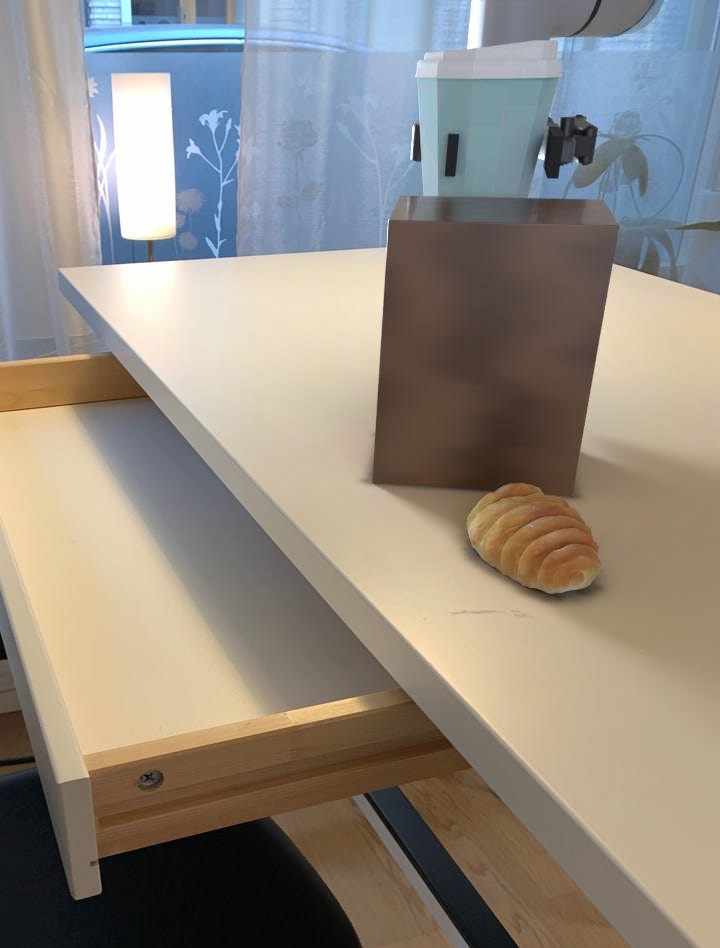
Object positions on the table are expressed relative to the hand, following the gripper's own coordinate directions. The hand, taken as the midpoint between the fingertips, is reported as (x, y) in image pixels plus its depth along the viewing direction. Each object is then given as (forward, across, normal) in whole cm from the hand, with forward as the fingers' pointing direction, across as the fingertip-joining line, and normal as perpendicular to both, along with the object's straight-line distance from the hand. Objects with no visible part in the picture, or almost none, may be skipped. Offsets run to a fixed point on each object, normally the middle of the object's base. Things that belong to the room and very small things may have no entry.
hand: (503, 156), depth 72 cm
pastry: (+22, -4, -20) cm, 30 cm away
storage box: (0, 0, -20) cm, 20 cm away
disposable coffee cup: (-5, +2, -8) cm, 10 cm away
